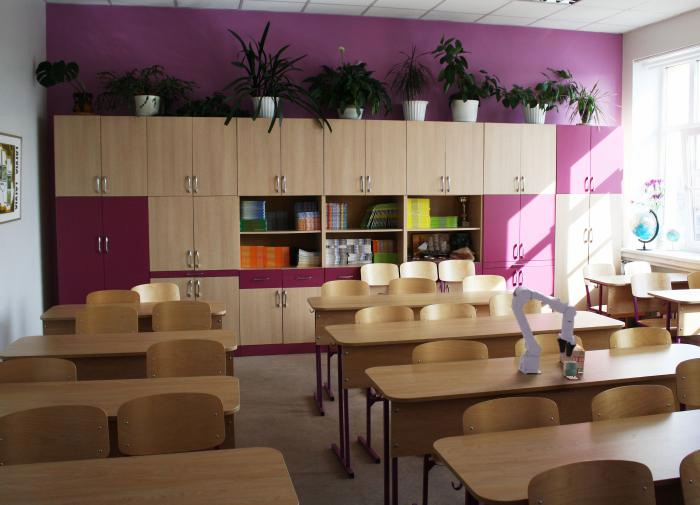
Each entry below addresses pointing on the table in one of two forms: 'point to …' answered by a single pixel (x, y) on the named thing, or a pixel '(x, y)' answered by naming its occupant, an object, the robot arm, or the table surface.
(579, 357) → the beige printed box
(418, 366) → the table surface
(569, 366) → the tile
